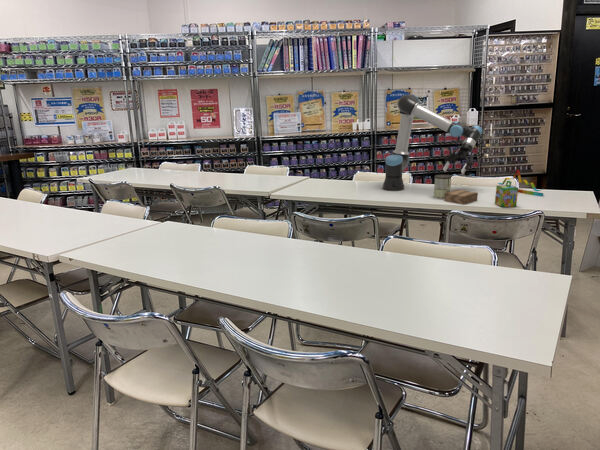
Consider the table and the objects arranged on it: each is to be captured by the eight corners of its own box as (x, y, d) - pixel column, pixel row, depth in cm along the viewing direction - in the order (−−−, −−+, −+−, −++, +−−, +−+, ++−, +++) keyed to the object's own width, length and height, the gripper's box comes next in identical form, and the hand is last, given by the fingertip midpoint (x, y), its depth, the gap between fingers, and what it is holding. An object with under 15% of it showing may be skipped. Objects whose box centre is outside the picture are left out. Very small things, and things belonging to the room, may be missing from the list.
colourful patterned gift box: (494, 204, 283) (496, 179, 279) (508, 203, 284) (511, 179, 279) (501, 207, 274) (504, 182, 270) (516, 206, 275) (519, 182, 271)
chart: (543, 196, 299) (546, 172, 295) (540, 196, 297) (543, 173, 293) (500, 188, 323) (502, 167, 319) (497, 189, 321) (499, 167, 317)
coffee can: (432, 195, 309) (433, 174, 305) (448, 195, 308) (449, 174, 304) (435, 199, 299) (436, 177, 295) (451, 199, 298) (453, 177, 294)
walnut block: (444, 200, 294) (445, 193, 293) (457, 197, 302) (458, 189, 301) (464, 204, 284) (464, 196, 282) (477, 200, 292) (477, 192, 290)
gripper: (486, 151, 303) (472, 177, 298) (453, 148, 322) (439, 172, 317) (483, 143, 298) (468, 170, 294) (449, 141, 317) (434, 166, 313)
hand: (453, 171), depth 305 cm, fingers open, 13 cm apart
